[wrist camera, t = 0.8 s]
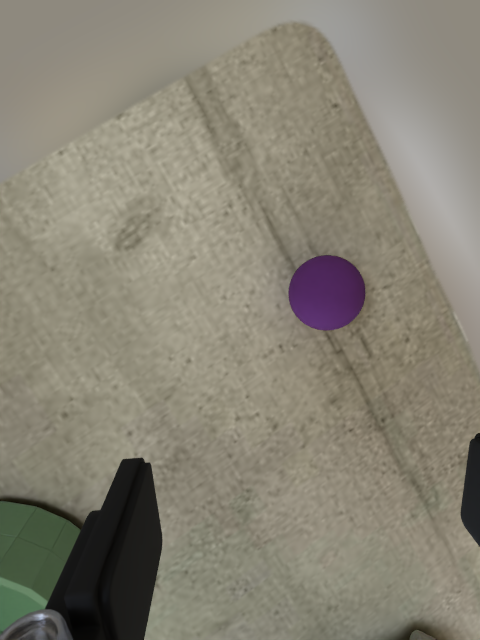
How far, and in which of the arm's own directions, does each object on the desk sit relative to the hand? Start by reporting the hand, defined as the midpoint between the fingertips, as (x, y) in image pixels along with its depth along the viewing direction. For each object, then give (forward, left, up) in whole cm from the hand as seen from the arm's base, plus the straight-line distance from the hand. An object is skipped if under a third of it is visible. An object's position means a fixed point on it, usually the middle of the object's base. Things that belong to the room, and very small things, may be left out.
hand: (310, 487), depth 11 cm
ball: (+3, +4, -13) cm, 13 cm away
